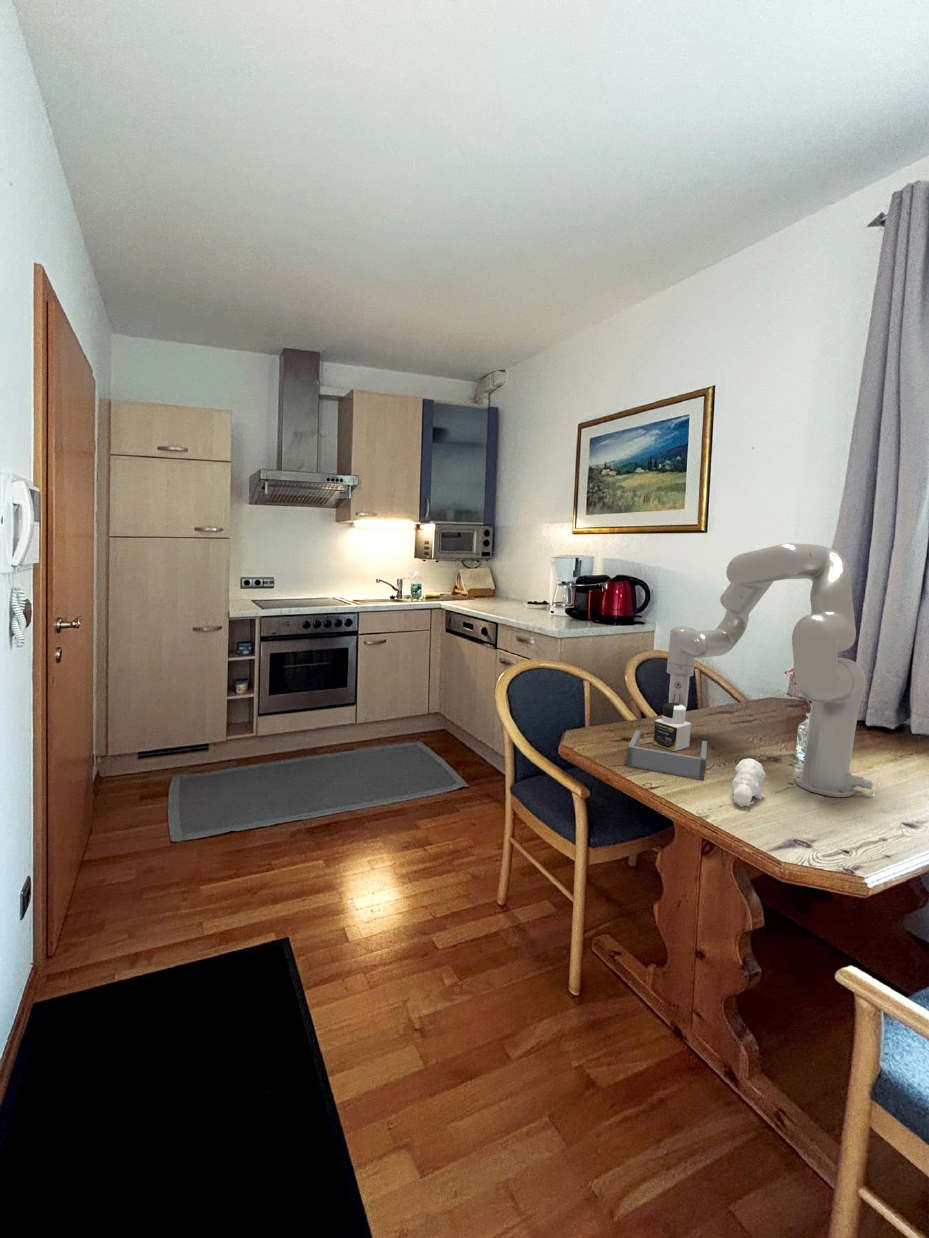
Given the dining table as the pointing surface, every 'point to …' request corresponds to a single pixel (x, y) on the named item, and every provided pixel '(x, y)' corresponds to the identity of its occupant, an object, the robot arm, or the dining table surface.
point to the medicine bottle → (672, 728)
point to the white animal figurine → (747, 781)
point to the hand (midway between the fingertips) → (674, 728)
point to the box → (666, 760)
